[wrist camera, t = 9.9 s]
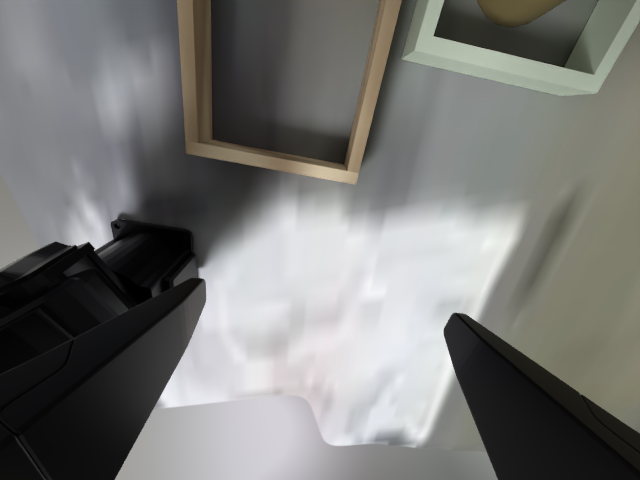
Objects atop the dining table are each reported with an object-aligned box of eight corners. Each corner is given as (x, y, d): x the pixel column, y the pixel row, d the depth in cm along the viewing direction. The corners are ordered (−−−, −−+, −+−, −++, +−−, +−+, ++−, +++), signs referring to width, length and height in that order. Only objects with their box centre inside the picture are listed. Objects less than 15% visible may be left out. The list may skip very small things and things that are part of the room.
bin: (201, 148, 19) (186, 153, 16) (194, -73, 13) (170, -110, 11) (351, 176, 20) (355, 184, 17) (398, -21, 14) (412, -45, 12)
